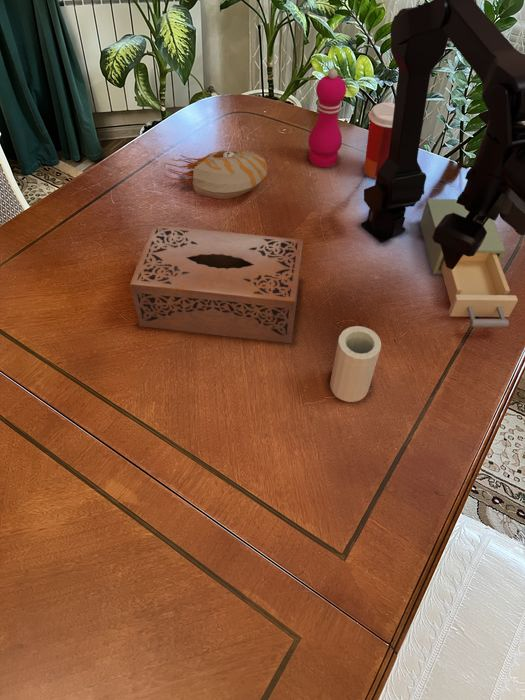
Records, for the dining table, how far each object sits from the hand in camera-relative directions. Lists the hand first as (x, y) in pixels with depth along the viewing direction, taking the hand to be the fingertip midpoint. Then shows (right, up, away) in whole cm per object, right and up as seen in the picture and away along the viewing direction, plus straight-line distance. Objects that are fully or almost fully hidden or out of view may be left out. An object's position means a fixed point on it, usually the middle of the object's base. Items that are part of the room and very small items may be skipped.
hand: (461, 251), depth 89 cm
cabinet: (+6, +4, +21) cm, 22 cm away
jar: (-18, -21, 0) cm, 27 cm away
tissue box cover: (-38, -7, +11) cm, 40 cm away
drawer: (+6, -6, +12) cm, 14 cm away
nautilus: (-41, +19, +31) cm, 55 cm away
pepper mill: (-18, +27, +38) cm, 50 cm away
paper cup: (-6, +24, +36) cm, 43 cm away
